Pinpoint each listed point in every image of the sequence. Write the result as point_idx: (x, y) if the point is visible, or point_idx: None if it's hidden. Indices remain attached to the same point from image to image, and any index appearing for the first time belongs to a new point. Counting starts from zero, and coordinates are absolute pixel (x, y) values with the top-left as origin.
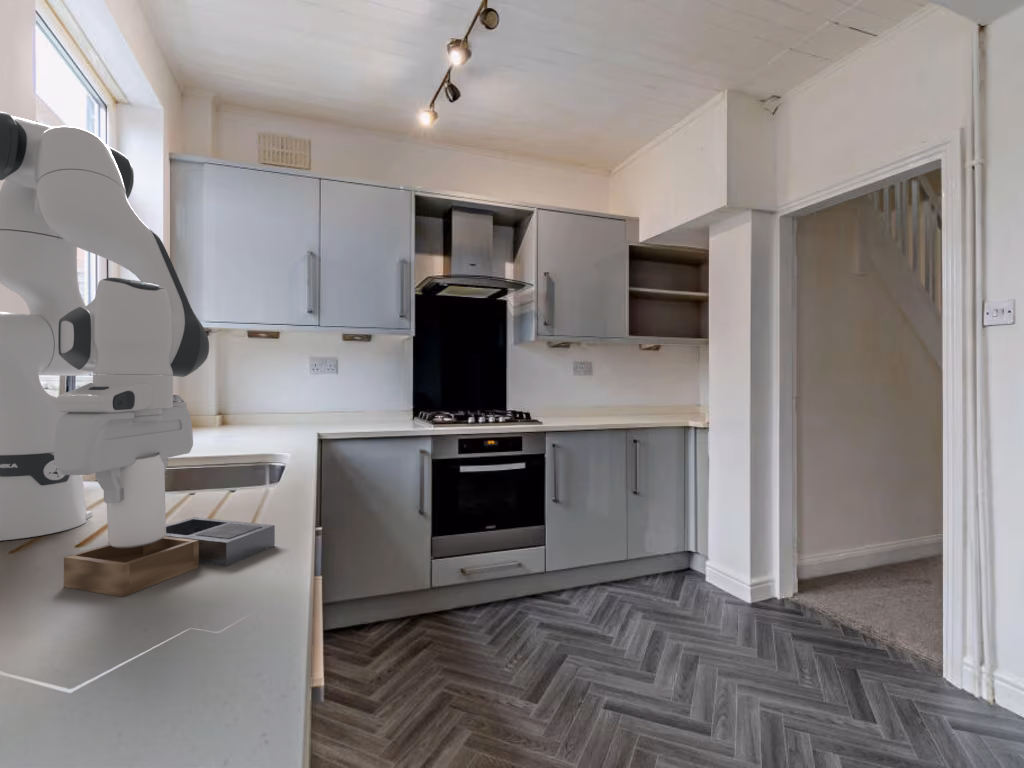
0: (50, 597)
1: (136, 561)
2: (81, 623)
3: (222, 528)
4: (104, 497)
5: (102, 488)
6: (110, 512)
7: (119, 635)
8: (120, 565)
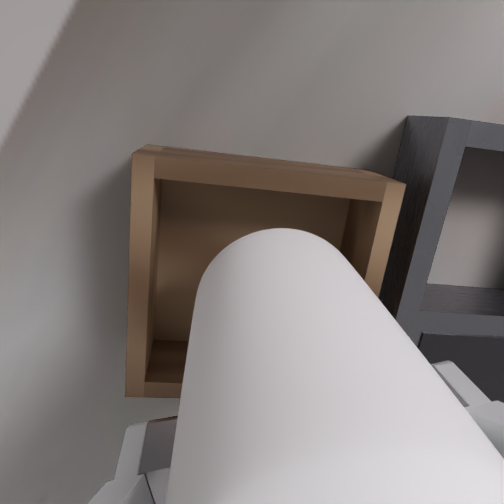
0: (85, 182)
1: (163, 397)
2: (15, 384)
3: (486, 359)
4: (124, 444)
5: (101, 490)
6: (186, 359)
7: (10, 481)
8: (125, 389)
